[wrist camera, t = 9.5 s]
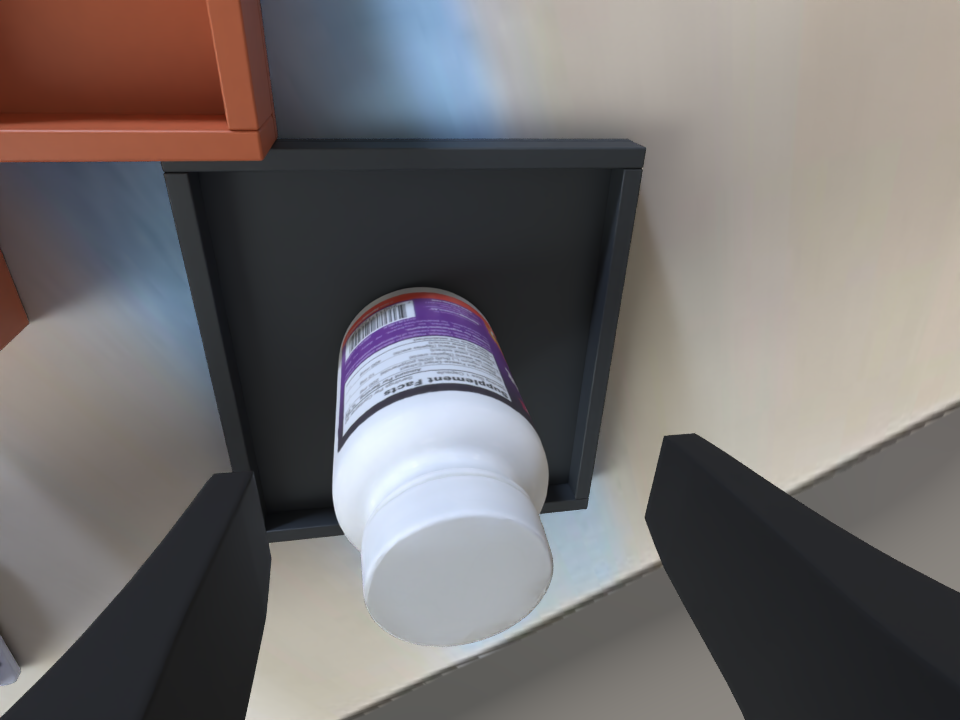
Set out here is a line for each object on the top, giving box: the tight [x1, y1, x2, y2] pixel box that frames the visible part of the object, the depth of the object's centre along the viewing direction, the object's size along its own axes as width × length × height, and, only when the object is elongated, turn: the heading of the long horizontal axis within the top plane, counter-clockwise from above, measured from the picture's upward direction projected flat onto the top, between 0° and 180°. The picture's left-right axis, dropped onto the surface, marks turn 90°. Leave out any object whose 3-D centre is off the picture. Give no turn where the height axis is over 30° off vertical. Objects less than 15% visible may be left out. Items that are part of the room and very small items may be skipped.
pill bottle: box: [332, 287, 553, 646], centre depth 16 cm, size 5×5×10 cm
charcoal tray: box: [161, 139, 646, 543], centre depth 20 cm, size 14×13×1 cm
